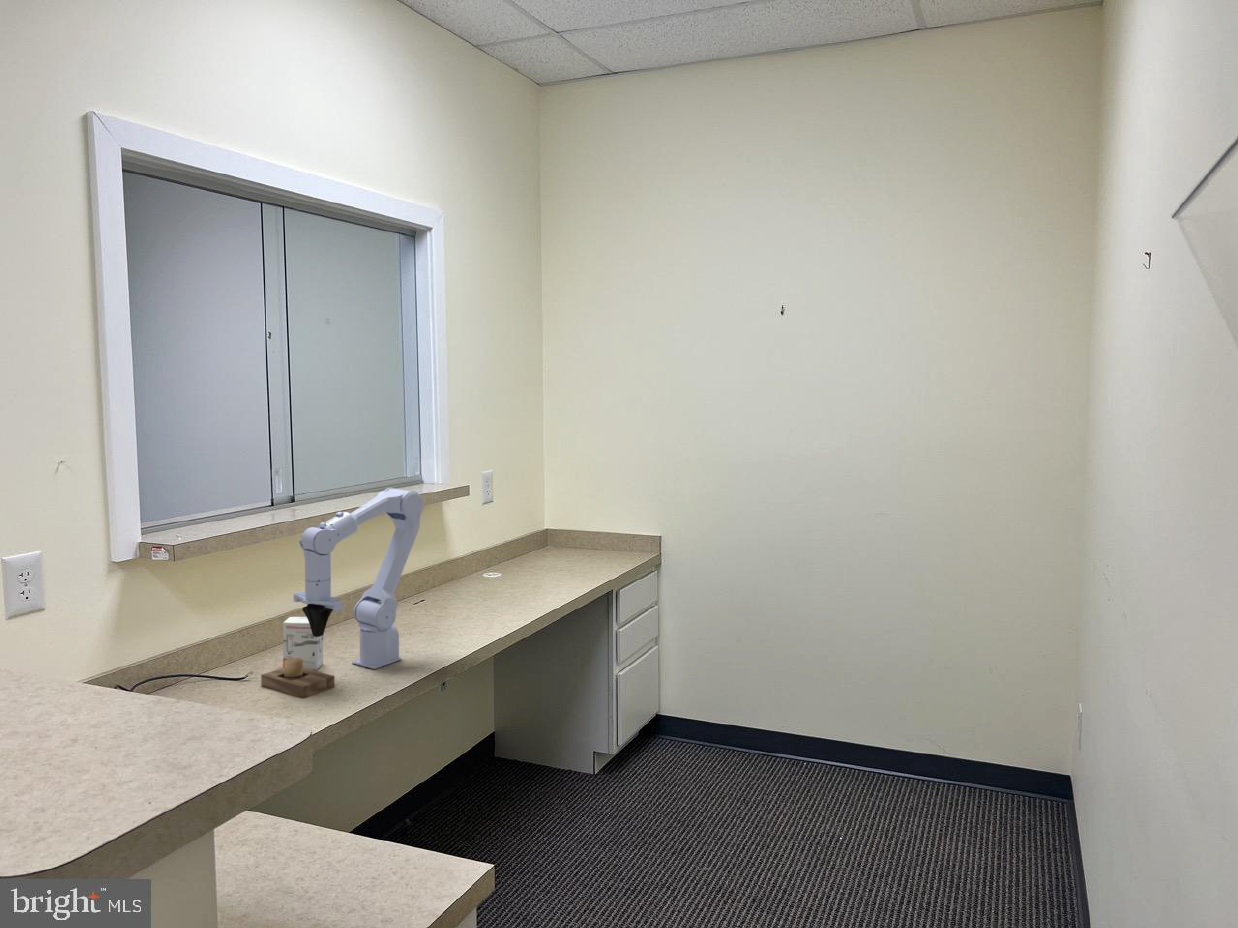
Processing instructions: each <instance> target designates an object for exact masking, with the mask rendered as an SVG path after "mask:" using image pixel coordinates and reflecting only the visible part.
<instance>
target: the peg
mask: <svg viewBox="0 0 1238 928" xmlns="http://www.w3.org/2000/svg"><path fill="white" fill-rule="evenodd" d="M300 677H303V659H301V658H289V659H286V660H285V661H284V678H285V679H288V680H294V679H297V678H300Z"/></svg>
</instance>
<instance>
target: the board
mask: <svg viewBox="0 0 1238 928" xmlns="http://www.w3.org/2000/svg"><path fill="white" fill-rule="evenodd" d="M260 679H261V680H260V683H261V686H263V687H266V688H268V689H269V688H270V689H272V690H276V691H278V692H279V691H280V692H283V693H286V694H289V695H293V696H295V697H300V698H307V697H309V696H312V695H314V694H317V693H320V692H323V691H326V690H328V689H331V688H334V687H335V686H336V685H335V675H332V674H328V673H325V672H323V671H322V672H321V671H318V670H311V669H307V668H304V667H303V677H300V678H297V679H294V680H288V679H285V678H284V668H283V667H282V668H278V669H276V670H272V671H269V672H266V673H262V674H261V677H260Z"/></svg>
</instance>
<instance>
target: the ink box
mask: <svg viewBox="0 0 1238 928" xmlns="http://www.w3.org/2000/svg"><path fill="white" fill-rule="evenodd" d="M282 628H283V629H282V631H283V633H282V634H283V635H282V641H283V642H282V643H283V644H282V646H283V647H282V649H283V650H282V661H283V662H282V663H283V664H282V665H283V666H282V668H284V661H285V660H286V659H289V658H301V659H303V667H304V668H307V669H311V670H315V671H318V669H319V668H320V667H322V665H323V664H324V635H323V636H319V637H314V636H313V634H312V631H311V627H310V624H309V621H308V619H307V617H306V616H290V617H288V618H286V620H284V621H283V624H282Z"/></svg>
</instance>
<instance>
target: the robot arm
mask: <svg viewBox="0 0 1238 928" xmlns="http://www.w3.org/2000/svg"><path fill="white" fill-rule="evenodd" d="M424 507H425V504H424V501H423V499H422V496H421V495H420V493H419V492H418V491H414V490H405V489H397V488H396V487H395V488H394V487H387V488H386V489H384V490H383V491H379V492H378V494H377V495H376V496H375V497H374V498H372V499H370V500H368V502H365V503H364V504H363V505H361V506H359V507H358V508H357V509H355V510H354V511H351V512H350V513H349V512H348V511H343V512H342V511H338V512H336V513H335V516H334V517H331V518H330V519H328V520H327V521H325V522H324V521H322V522H320V523H319V525H318V526H317V527H315V526H312V527H308V528H307V529H305V530H304V531H303V532H302V534H301V536H300V539H299V540H298V543H299V547H300V548H301V549H302V551H303V557H304V592H301V591H300V592H295V593H293V602H294V603H299V602H300V603H302V604H306V606H304V607H302V611H303V613H304V615H305V617H307V619H308V621H309V624H310V627H311V631H312V634H313V636H314V637H319V636H323V637H324V633H325V630H326V626H327V624H328V620H329V618H330V616H331V614H332V612H333V611H335V612H338V611H342V610H344V600H339V599H337V598H335V597H334V596H332V595H331V594H332V593H331V592H332V590H331V589H332V587H331V586H332V585H331V583H332V581H331V580H332V578H331V577H332V576H331V575H332V573H331V572H332V571H331V569H332V568H331V565H332V564H331V563H332V562H331V560H332V559H331V553H332V552H333V551H334V550H335V548H336V546H337V544H339V543H340V542H342V541H344V540H345V539H348V538H349V537H351V536H352V535H353V534H355V533H357V531H358V527H359V526H360V525H362V524H364V523H365V522H368V521H370V520H372V519H374V518H376V517H378V516H380V515H382V514H383V513H385V514H386V515H387V516H388V518H390V520H391V521H392V523H393V525H394V527H395V530H394V532H393V535H392V537H391V540H390V542H389V545H388V547H387V549H386V552H385V555H384V557H383V558H382V559H383V560H382V563H381V564H380V567H379V569H378V573H377V575H376V576H375V581H374V582H373V585H372V586H371V587H370V588H368V589H367V590H365V591H364V592H363V593H362V596H361V598H360V599H359V600H358V601H357V602H356V604H355V605H354V607H353V611H352V613H353V618H354V620H355V621H356V622H357V624H358V628H359V658H358V659H355V660H352V661H351V663H352V664H353V665H358V666H362V667H365V668H368V669H369V668H370V669H373V670H376V669H379V668H382V667H384V666H387V665H390V664H392V663H395V662H398V661H401V660H402V657H401V656H400V634H399V631H398V629H397V627H396V626H395V625H394V623H395V621H396V618H397V608H398V605H399V602H398V599H397V597H396V595H395V593H396V589H397V587H398V584H399V581H400V579H401V577H402V574H403V571H404V569H405V566H406V564H407V560H408V559H409V556H410V553H411V550H412V548H413V546H414V543H415V540H416V538H417V535H418V533H419V531H420V525H421V516H422V513H423V511H424Z"/></svg>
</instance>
